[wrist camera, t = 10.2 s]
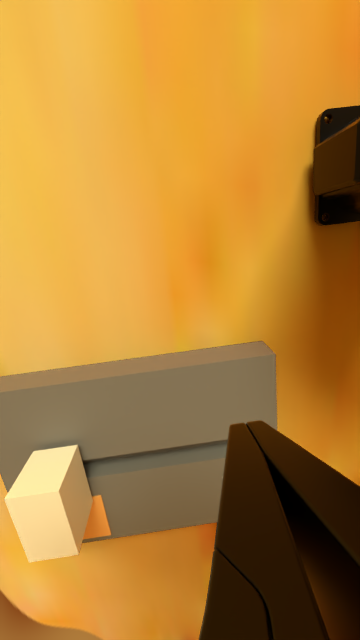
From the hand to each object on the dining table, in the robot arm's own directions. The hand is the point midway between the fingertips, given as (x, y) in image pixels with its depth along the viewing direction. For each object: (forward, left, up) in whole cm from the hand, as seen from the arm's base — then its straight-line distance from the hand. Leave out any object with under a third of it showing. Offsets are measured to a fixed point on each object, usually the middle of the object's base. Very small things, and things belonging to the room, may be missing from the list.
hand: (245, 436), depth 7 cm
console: (+5, +10, -13) cm, 17 cm away
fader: (+11, +10, -12) cm, 19 cm away
